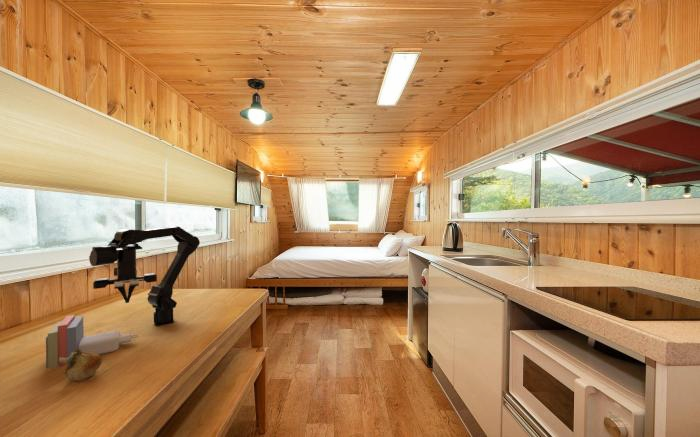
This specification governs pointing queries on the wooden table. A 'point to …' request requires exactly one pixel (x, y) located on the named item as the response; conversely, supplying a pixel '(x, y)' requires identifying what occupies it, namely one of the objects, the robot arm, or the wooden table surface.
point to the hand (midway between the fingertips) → (127, 302)
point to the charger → (104, 342)
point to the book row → (63, 340)
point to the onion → (81, 365)
